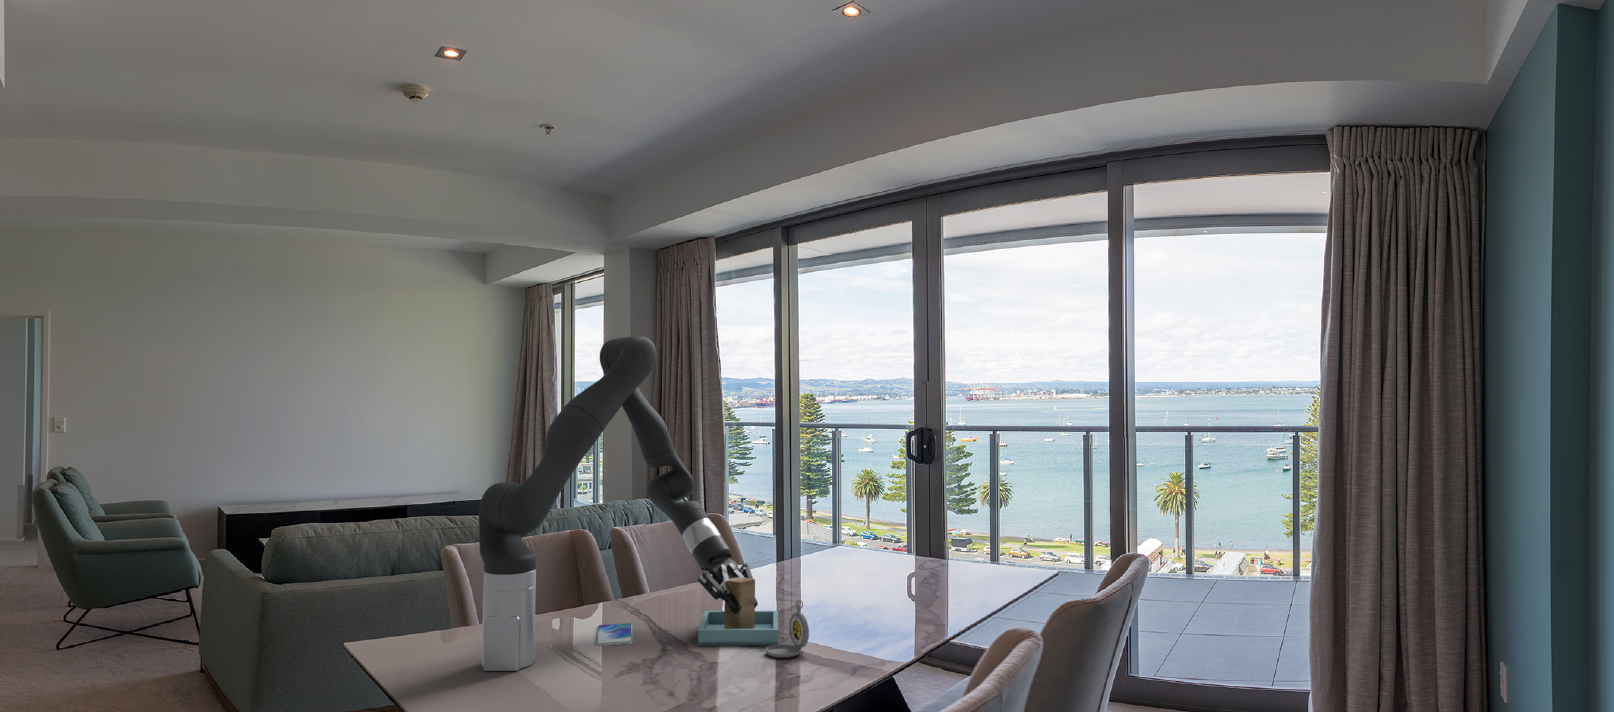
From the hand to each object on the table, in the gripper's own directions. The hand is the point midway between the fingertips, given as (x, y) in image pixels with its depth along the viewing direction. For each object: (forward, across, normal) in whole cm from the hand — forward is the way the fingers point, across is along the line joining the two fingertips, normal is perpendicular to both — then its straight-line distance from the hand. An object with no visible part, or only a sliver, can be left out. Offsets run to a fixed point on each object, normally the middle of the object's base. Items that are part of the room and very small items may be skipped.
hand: (746, 609), depth 183 cm
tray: (+3, 0, +5) cm, 6 cm away
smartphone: (-11, -17, +20) cm, 28 cm away
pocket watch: (+15, -4, -6) cm, 16 cm away
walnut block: (+2, 0, +4) cm, 5 cm away
